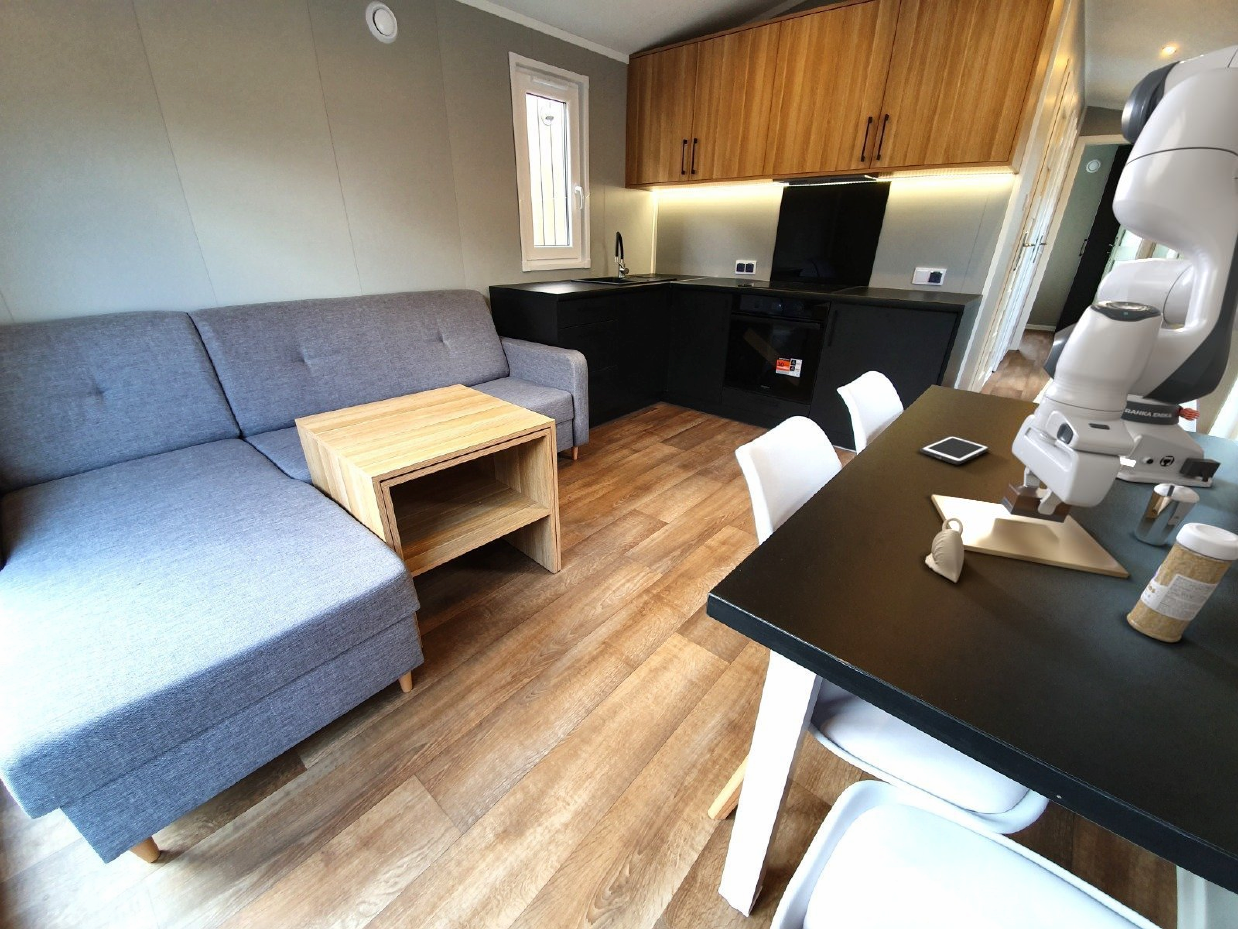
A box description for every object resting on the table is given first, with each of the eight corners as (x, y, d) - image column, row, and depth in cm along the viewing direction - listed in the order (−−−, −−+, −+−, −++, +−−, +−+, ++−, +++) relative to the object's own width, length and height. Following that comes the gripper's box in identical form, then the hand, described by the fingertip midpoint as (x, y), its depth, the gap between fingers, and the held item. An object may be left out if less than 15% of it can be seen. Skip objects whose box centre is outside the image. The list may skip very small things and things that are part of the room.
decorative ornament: (920, 570, 66) (932, 537, 64) (933, 544, 72) (944, 513, 69) (955, 584, 64) (969, 550, 61) (965, 556, 69) (978, 524, 67)
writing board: (1067, 519, 80) (1070, 515, 79) (1126, 578, 66) (1129, 573, 65) (930, 498, 85) (932, 494, 84) (958, 548, 71) (960, 544, 71)
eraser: (1051, 510, 78) (1060, 491, 76) (1063, 523, 74) (1073, 503, 73) (1000, 502, 80) (1008, 483, 78) (1010, 514, 76) (1018, 494, 75)
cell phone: (918, 452, 103) (919, 448, 102) (950, 439, 111) (952, 435, 110) (957, 466, 97) (959, 461, 97) (989, 451, 105) (990, 446, 104)
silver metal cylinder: (1119, 536, 76) (1151, 478, 71) (1137, 529, 78) (1170, 473, 73) (1158, 552, 72) (1194, 492, 68) (1176, 544, 74) (1212, 486, 70)
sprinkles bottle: (1125, 610, 60) (1183, 516, 54) (1178, 630, 57) (1245, 533, 51) (1125, 629, 57) (1186, 532, 51) (1181, 651, 54) (1252, 550, 48)
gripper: (1019, 397, 80) (988, 473, 86) (1083, 442, 63) (1039, 533, 68) (1064, 402, 79) (1030, 479, 85) (1144, 449, 61) (1093, 542, 67)
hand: (1035, 503), depth 76 cm, fingers closed on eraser, 4 cm apart
